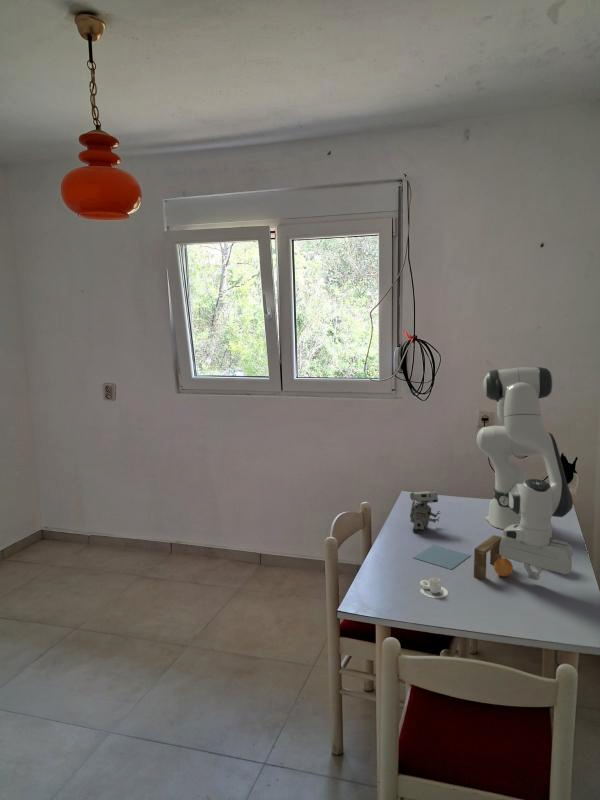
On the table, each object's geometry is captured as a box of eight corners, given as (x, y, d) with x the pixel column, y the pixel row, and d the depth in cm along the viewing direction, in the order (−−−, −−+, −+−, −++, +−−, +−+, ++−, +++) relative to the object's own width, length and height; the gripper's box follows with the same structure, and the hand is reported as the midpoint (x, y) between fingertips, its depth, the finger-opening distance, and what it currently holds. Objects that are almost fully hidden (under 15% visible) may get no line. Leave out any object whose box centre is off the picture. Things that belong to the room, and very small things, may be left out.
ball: (509, 553, 169) (517, 570, 168) (493, 558, 172) (501, 575, 171) (504, 559, 164) (513, 576, 163) (488, 564, 167) (497, 581, 166)
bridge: (473, 576, 167) (474, 548, 166) (492, 561, 178) (493, 534, 177) (483, 579, 165) (483, 551, 164) (501, 564, 176) (502, 537, 175)
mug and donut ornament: (416, 585, 163) (416, 573, 163) (442, 584, 164) (442, 572, 163) (424, 600, 155) (424, 586, 154) (451, 599, 155) (452, 585, 154)
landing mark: (433, 545, 192) (433, 544, 192) (470, 555, 183) (470, 555, 183) (413, 558, 182) (413, 557, 182) (451, 569, 173) (451, 569, 173)
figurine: (439, 534, 202) (440, 496, 200) (408, 532, 205) (409, 494, 203) (440, 526, 210) (440, 489, 208) (410, 523, 214) (410, 487, 212)
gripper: (576, 540, 156) (573, 585, 158) (505, 524, 169) (504, 565, 171) (569, 546, 151) (567, 593, 153) (497, 529, 165) (496, 572, 167)
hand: (533, 578), depth 162 cm, fingers closed
